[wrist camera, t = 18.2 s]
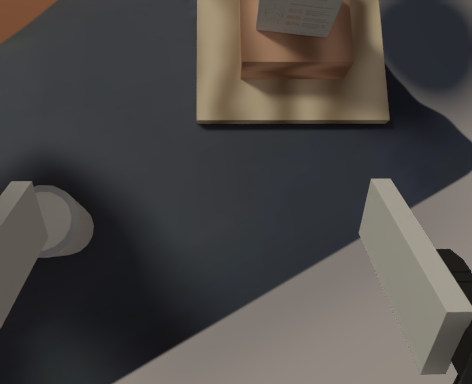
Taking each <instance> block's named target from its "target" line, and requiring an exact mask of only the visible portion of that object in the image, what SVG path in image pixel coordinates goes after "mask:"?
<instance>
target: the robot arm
mask: <svg viewBox="0 0 472 384" xmlns="http://www.w3.org/2000/svg"><path fill="white" fill-rule="evenodd" d="M359 235H360V237H361V240H362V242H363V244H364V246H365V249H366V251H367V253H368V256H369V258H370V260H371V262H372V265H373V267H374V269H375V272H376V274H377V276H378V279H379V281H380V283H381V285H382V288H383V290H384V292H385V295H386V297H387V299H388V301H389V304H390V306H391V308H392V311H393V313H394V315H395V317H396V320H397V322H398V324H399V327H400V329H401V331H402V333H403V336H404V338H405V341H406V343H407V345H408V348H409V350H410V352H411V354H412V357H413V359H414V361H415V364H416V366H417V368H418V370H419V373H420V374H421V375H424V374H446V372H447V370H448V368H449V366H450V364H451V361H452V363H453V365H454V367H455V369H456V371H457V373H458V375H457V377H456V379H455V381H454V383H453V384H472V273H471V270H470V269H469V267H468V266H467V265H466V263H465V262H464V260H463V259H462V258H461V257H459V256H458V255H457V254H455V253H454V252H453V251H451V250H450V249H435V248H434V246H433V245H432V243H431V242H430V240H429V239H428V237H427V235H426V234H425V232H424V231H423V229H422V227H421V226H420V224H419V223H418V221H417V220H416V218H415V216H414V215H413V213H412V212H411V210H410V209H409V207H408V206H407V204H406V202H405V201H404V199H403V198H402V196H401V195H400V193H399V192H398V190H397V188H396V187H395V185H394V184H393V182H392V181H391V179H371V182H370V186H369V190H368V195H367V199H366V204H365V208H364V213H363V217H362V222H361V226H360V231H359ZM47 239H48V234H47V230H46V227H45V224H44V220H43V217H42V214H41V210H40V207H39V204H38V200H37V197H36V194H35V190H34V187H33V184H32V181H11V182H10V184H9V185H8V186H7V188H6V189H5V190H4V192H3V193H2V194H1V195H0V329H1V327H2V325H3V323H4V321H5V319H6V317H7V316H8V314H9V312H10V310H11V308H12V306H13V304H14V302H15V300H16V298H17V296H18V294H19V293H20V291H21V289H22V287H23V285H24V283H25V281H26V279H27V277H28V275H29V273H30V271H31V270H32V268H33V266H34V264H35V262H36V260H37V258H38V256H39V254H40V252H41V250H42V248H43V247H44V245H45V243H46V241H47Z"/></svg>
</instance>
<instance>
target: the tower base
mask: <svg viewBox="0 0 472 384" xmlns="http://www.w3.org/2000/svg"><path fill="white" fill-rule="evenodd" d="M257 7H258V0H197V124H386V123H387V122H388V121H389V120H390V118H389V107H388V96H387V85H386V74H385V63H384V53H383V42H382V31H381V21H380V9H379V0H343V2H342V5H341V7H340V9H339V12H338V14H337V16H336V19H335V21H334V24H333V26H332V28H331V31H330V33H329V36H328V37H327V38H324V37H315V36H306V35H297V34H289V33H280V32H271V31H262V30H256V17H257Z"/></svg>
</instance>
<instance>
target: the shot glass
mask: <svg viewBox="0 0 472 384" xmlns="http://www.w3.org/2000/svg"><path fill="white" fill-rule="evenodd" d="M34 190H35V194H36V197H37V200H38V204H39V207H40V210H41V214H42V217H43V220H44V224H45V227H46V230H47V234H48V239H47V241H46V243H45V245H44V247H43V248H42V250H41V252H40V254H39V256H38V258H47V257H57V256H66V255H71V254H74V253H77V252H80V251H81V250H82V249H83V248H84V247H86V246H87V245H88V243H89V242H90V240H91V238H92V236H93V229H94V224H93V221H92V218H91V215H90V214H89V213H88V212H87V211H86V210H85V208H83V207H82V206H81V205H80V204H79V203H78V202H77V201H76V200H75V199H73V198H72V197H71V196H70V195H69V194H68V193H67V192H65V191H63V190H61V189H59V188H57V187H55V186H49V185H37V186H35V187H34Z"/></svg>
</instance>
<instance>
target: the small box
mask: <svg viewBox="0 0 472 384" xmlns="http://www.w3.org/2000/svg"><path fill="white" fill-rule="evenodd" d="M342 2H343V0H258V7H257V17H256V30H262V31H271V32H280V33H289V34H297V35H306V36H315V37H324V38H327V37H328V36H329V33H330V31H331V28H332V26H333V24H334V21H335V19H336V16H337V14H338V12H339V9H340V7H341V5H342Z"/></svg>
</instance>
